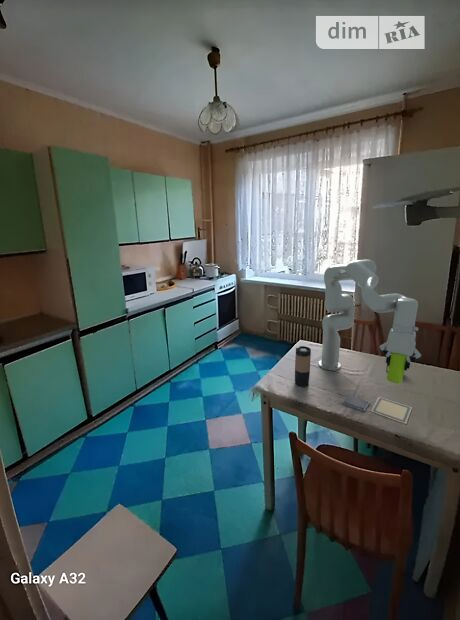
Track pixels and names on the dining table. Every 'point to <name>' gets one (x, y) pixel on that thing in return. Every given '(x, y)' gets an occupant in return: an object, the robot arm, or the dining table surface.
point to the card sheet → (391, 410)
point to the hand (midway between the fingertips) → (397, 366)
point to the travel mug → (302, 366)
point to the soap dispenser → (396, 368)
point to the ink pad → (356, 403)
